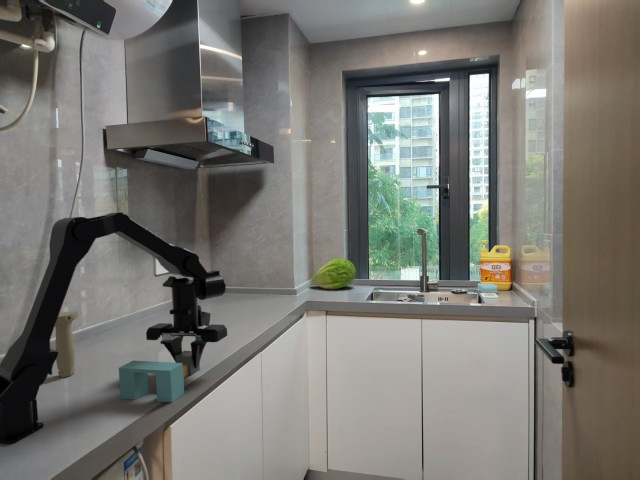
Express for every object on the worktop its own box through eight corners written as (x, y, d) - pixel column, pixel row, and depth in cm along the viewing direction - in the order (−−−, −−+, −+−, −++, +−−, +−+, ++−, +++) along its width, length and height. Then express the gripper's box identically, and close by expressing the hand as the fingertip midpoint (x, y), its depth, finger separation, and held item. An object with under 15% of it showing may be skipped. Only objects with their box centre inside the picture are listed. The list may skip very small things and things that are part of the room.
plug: (169, 390, 92) (168, 370, 92) (153, 389, 93) (152, 369, 93) (201, 367, 106) (201, 349, 106) (187, 367, 107) (186, 349, 106)
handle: (85, 372, 106) (81, 312, 105) (59, 381, 100) (55, 317, 99) (73, 369, 108) (69, 310, 107) (47, 378, 102) (43, 316, 101)
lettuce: (308, 297, 215) (323, 294, 229) (351, 284, 204) (364, 282, 218) (300, 268, 218) (315, 267, 232) (342, 254, 207) (356, 254, 221)
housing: (172, 402, 86) (170, 370, 86) (120, 398, 89) (118, 367, 89) (184, 393, 90) (182, 363, 90) (134, 389, 93) (132, 360, 93)
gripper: (235, 297, 108) (238, 358, 109) (169, 296, 113) (172, 355, 113) (214, 306, 97) (218, 374, 98) (142, 305, 102) (146, 370, 103)
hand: (188, 367), depth 103 cm, fingers closed on plug, 4 cm apart
